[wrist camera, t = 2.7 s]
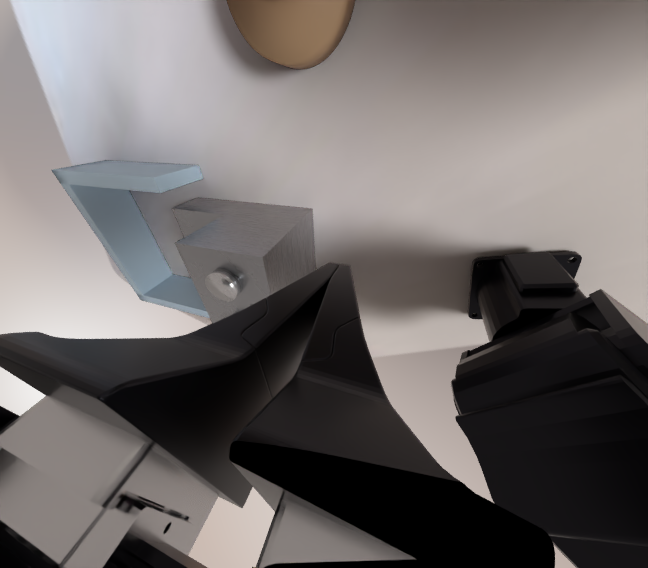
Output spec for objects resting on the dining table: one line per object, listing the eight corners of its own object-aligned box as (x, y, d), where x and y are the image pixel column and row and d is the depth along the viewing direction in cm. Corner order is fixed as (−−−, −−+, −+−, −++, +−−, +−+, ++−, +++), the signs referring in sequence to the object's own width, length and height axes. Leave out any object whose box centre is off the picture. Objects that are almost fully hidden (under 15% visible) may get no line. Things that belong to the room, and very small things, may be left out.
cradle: (198, 165, 22) (153, 177, 18) (240, 294, 32) (216, 320, 28) (106, 160, 25) (51, 169, 21) (170, 279, 35) (140, 300, 31)
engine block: (312, 208, 21) (255, 264, 14) (316, 291, 27) (279, 361, 20) (198, 197, 24) (103, 237, 17) (225, 273, 30) (163, 327, 23)
